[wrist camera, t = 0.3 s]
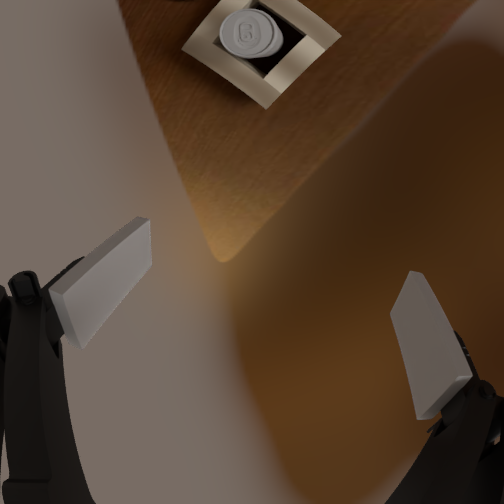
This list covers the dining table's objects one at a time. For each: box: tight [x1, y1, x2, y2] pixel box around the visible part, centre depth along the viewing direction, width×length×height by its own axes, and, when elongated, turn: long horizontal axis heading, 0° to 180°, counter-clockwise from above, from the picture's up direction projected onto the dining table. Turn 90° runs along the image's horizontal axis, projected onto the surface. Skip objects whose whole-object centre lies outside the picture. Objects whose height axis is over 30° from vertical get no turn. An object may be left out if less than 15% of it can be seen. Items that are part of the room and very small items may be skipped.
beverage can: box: [219, 8, 284, 58], centre depth 21 cm, size 5×5×12 cm
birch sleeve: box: [181, 0, 341, 109], centre depth 24 cm, size 12×12×5 cm
